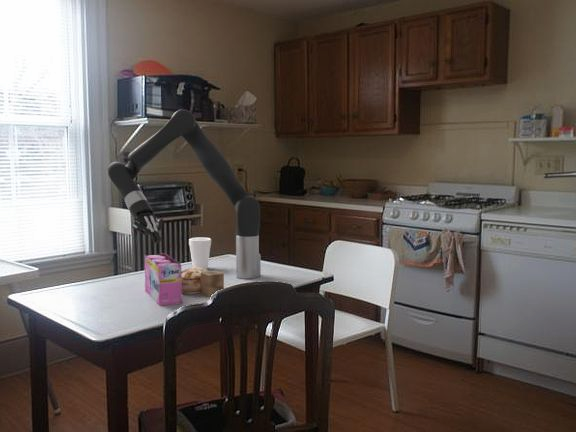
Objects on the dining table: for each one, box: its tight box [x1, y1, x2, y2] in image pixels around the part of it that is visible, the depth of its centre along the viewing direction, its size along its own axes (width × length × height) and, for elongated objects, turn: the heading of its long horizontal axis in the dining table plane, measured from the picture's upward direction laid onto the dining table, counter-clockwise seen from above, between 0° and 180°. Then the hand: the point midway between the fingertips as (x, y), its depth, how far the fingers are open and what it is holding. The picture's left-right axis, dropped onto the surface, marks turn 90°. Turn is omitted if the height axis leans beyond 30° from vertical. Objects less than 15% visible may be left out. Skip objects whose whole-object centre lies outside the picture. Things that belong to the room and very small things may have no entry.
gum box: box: [144, 252, 183, 307], centre depth 191 cm, size 24×8×14 cm, turn 27°
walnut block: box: [200, 270, 225, 298], centre depth 194 cm, size 6×6×8 cm
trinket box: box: [181, 267, 209, 295], centre depth 202 cm, size 13×15×8 cm
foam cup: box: [188, 236, 212, 270], centre depth 237 cm, size 10×9×13 cm
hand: (158, 241), depth 195 cm, fingers closed
